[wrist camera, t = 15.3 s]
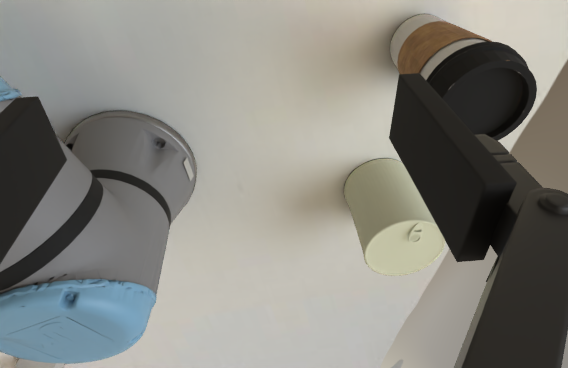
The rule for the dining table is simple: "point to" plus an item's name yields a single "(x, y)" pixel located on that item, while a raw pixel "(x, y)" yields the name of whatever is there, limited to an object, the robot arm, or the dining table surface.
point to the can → (392, 219)
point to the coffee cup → (467, 73)
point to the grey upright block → (37, 364)
